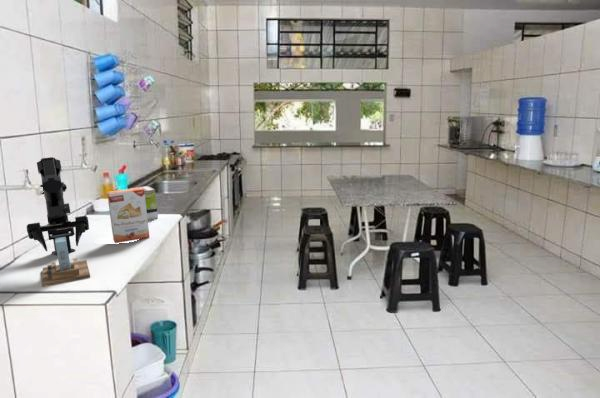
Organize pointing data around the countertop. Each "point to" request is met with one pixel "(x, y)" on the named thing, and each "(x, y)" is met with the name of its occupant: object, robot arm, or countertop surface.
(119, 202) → the cracker box
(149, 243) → the countertop surface
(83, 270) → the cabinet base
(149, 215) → the tea box
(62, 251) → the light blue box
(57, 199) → the robot arm
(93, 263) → the countertop surface
